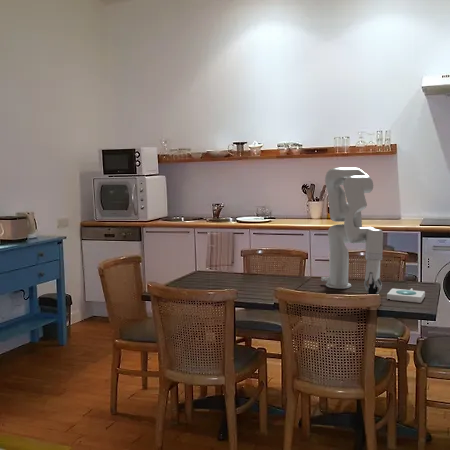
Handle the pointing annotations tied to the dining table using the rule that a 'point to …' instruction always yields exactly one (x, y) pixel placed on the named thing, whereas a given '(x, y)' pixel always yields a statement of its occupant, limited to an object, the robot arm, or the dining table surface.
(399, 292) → the charging dock
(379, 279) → the watch
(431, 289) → the dining table surface
